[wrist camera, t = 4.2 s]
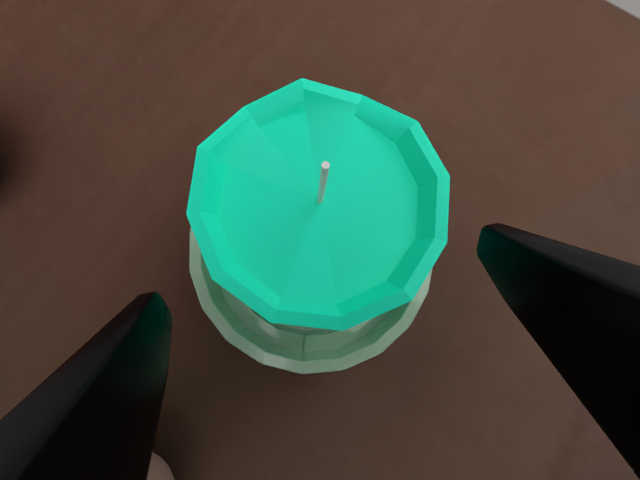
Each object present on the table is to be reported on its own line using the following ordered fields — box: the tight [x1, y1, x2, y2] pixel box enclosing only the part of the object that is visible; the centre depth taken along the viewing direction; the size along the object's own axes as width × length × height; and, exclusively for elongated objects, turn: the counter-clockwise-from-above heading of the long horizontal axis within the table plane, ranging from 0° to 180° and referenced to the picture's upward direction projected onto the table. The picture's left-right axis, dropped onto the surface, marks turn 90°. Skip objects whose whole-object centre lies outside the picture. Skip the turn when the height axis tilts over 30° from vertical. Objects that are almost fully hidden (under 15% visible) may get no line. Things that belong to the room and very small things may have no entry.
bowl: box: [189, 227, 433, 374], centre depth 15 cm, size 11×11×4 cm
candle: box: [186, 78, 450, 331], centre depth 11 cm, size 6×6×12 cm
